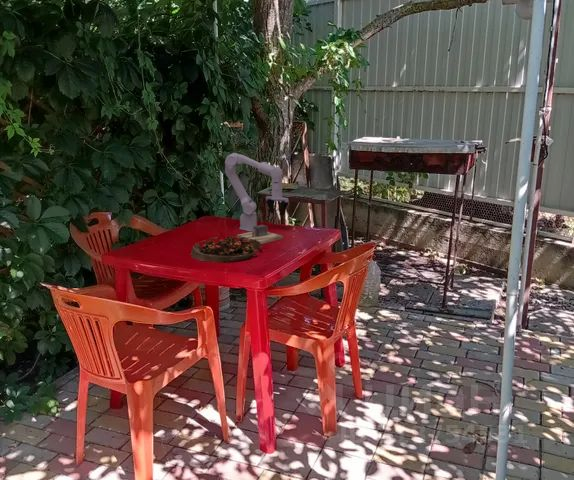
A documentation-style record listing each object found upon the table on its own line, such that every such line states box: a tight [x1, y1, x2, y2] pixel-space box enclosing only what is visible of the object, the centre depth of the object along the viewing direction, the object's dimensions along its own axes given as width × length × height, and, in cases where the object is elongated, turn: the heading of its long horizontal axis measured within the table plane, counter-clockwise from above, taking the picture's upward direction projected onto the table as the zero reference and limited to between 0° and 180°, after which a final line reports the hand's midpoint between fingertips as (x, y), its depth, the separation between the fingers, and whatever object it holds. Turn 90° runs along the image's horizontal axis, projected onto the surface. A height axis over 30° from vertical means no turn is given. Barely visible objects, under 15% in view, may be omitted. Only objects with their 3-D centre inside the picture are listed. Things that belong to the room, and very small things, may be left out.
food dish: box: [189, 235, 263, 263], centre depth 286 cm, size 35×33×8 cm
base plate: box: [236, 229, 284, 245], centre depth 312 cm, size 19×16×6 cm
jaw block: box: [253, 224, 268, 237], centre depth 312 cm, size 4×6×5 cm, turn 133°
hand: (277, 213), depth 328 cm, fingers open, 7 cm apart
